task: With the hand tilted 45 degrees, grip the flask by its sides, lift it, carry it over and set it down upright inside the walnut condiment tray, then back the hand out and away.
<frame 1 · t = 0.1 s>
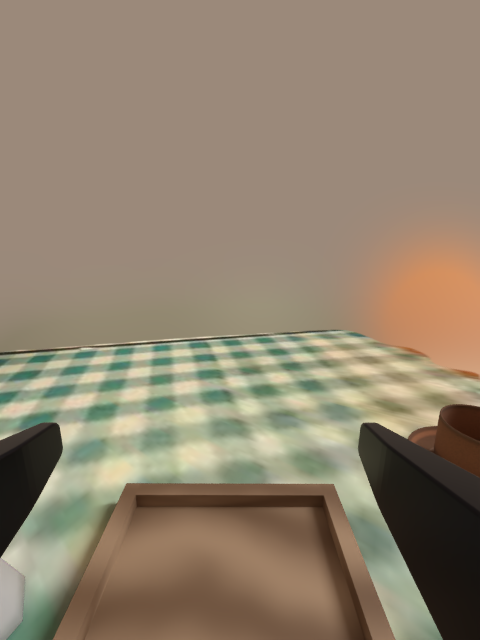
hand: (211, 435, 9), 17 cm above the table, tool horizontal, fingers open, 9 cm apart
walnut tray: (225, 632, 17), on the table
cup and saucer: (472, 481, 29), on the table
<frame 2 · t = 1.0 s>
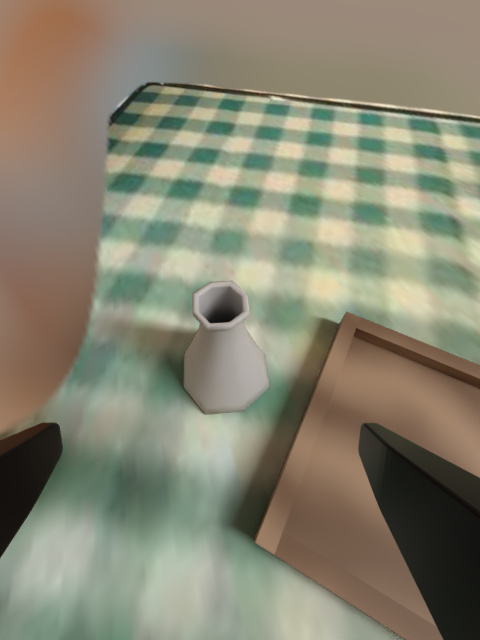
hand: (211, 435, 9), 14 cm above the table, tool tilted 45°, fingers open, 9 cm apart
walnut tray: (424, 471, 21), on the table
flask: (225, 372, 25), on the table
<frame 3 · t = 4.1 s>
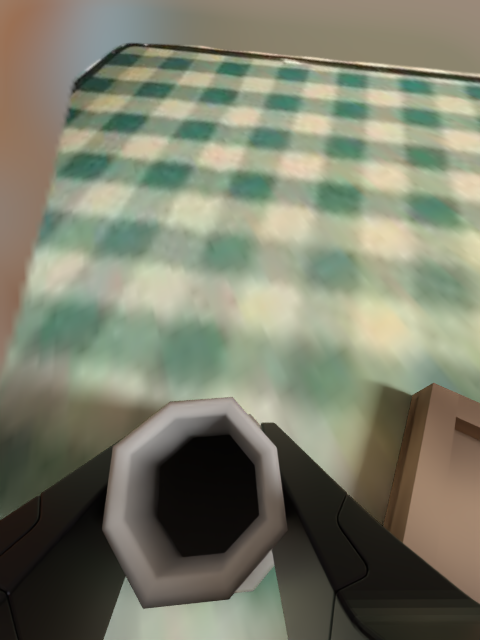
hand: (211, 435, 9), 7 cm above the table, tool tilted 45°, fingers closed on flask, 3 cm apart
flask: (220, 493, 14), on the table, touching gripper
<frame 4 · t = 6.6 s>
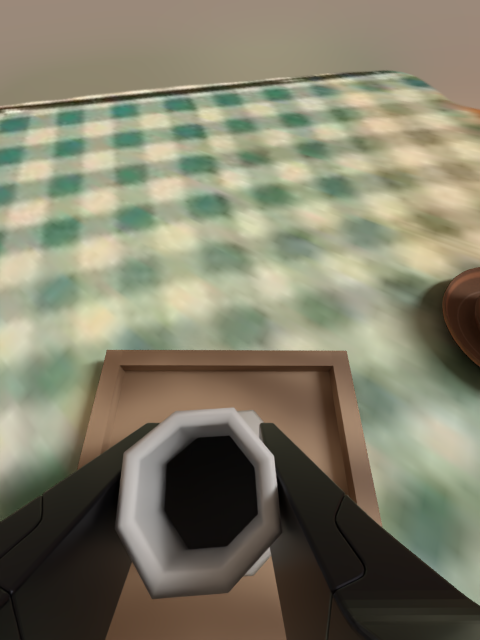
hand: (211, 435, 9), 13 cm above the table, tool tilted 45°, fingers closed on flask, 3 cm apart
walnut tray: (225, 488, 19), on the table
flask: (224, 485, 15), point 6 cm above the table, touching gripper
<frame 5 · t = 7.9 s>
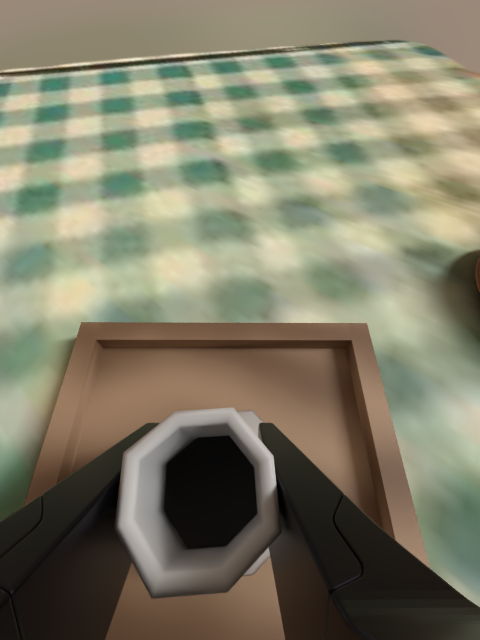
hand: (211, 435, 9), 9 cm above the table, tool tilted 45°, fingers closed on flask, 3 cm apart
walnut tray: (222, 487, 16), on the table
flask: (223, 484, 15), point 1 cm above the table, touching gripper
when the fingers open (9 cm above the table, at t = 8.1 s): flask stays where it is, resting on walnut tray.
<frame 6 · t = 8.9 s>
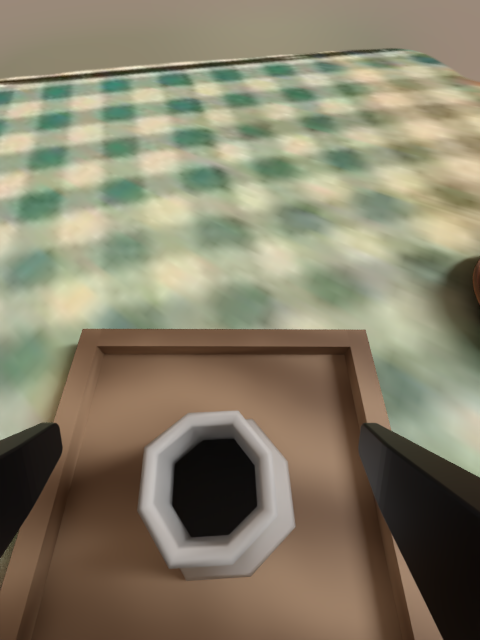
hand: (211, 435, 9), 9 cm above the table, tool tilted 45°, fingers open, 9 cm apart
walnut tray: (222, 493, 16), on the table
flask: (223, 490, 15), point 1 cm above the table, touching walnut tray
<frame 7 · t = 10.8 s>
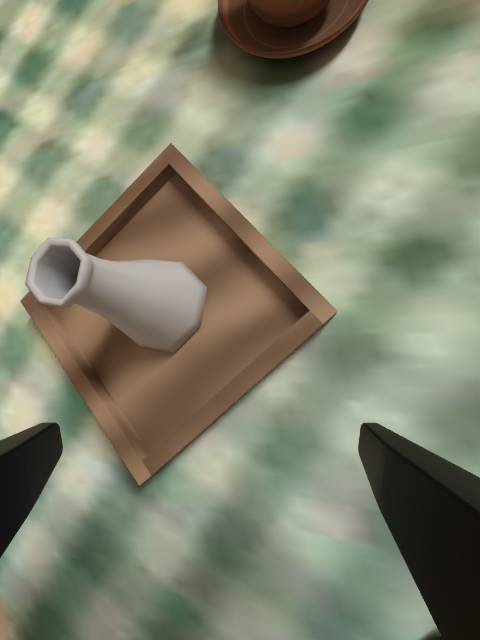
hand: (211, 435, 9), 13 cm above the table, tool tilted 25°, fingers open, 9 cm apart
walnut tray: (168, 309, 24), on the table
flask: (165, 305, 23), point 1 cm above the table, touching walnut tray
cup and saucer: (295, 10, 24), on the table
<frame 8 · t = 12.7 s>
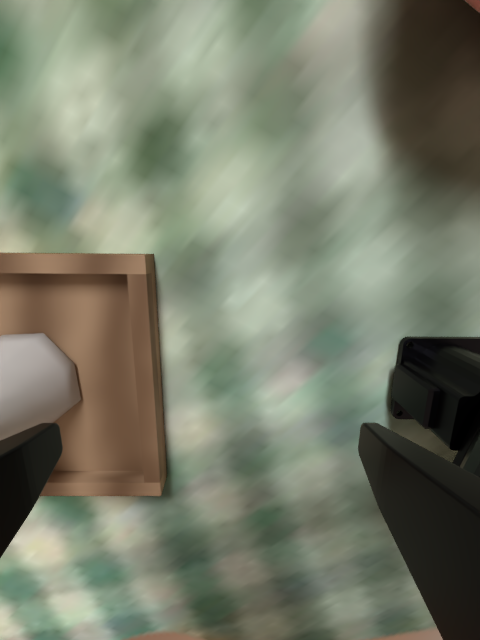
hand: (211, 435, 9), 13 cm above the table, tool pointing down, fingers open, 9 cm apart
walnut tray: (41, 375, 22), on the table
flask: (33, 377, 22), point 1 cm above the table, touching walnut tray
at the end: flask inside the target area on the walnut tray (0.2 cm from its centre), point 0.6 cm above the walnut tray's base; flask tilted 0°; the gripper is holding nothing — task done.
